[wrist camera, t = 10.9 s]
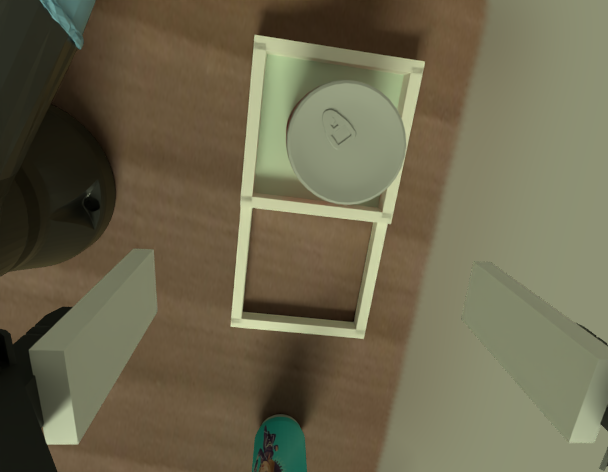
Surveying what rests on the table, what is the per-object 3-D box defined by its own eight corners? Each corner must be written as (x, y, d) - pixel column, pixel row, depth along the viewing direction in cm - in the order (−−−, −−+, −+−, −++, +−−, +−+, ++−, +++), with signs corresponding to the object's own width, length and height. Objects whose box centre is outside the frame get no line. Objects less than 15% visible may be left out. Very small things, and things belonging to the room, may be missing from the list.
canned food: (320, 69, 33) (337, 50, 22) (388, 129, 35) (433, 136, 24) (267, 141, 35) (260, 154, 24) (334, 194, 36) (355, 228, 26)
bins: (256, 40, 33) (254, 34, 30) (415, 65, 34) (425, 61, 31) (232, 319, 41) (229, 331, 38) (361, 331, 42) (365, 344, 39)
